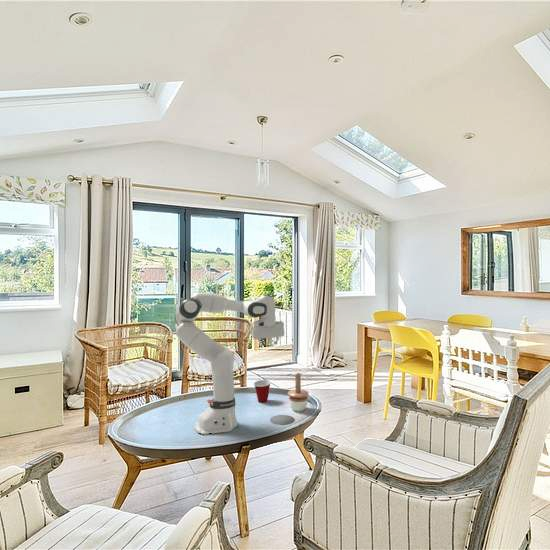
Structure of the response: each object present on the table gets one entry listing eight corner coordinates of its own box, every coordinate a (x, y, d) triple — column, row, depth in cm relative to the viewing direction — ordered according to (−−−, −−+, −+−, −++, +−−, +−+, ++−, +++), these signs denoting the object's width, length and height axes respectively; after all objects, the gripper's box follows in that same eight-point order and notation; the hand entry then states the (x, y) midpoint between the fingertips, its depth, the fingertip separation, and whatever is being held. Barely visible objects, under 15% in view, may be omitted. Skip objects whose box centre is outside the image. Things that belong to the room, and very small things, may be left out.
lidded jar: (307, 406, 221) (307, 391, 221) (307, 413, 211) (307, 397, 210) (289, 406, 222) (289, 390, 222) (288, 413, 212) (288, 397, 212)
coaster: (276, 427, 193) (276, 426, 193) (265, 418, 205) (265, 417, 205) (299, 422, 199) (299, 421, 199) (287, 413, 211) (287, 413, 211)
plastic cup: (250, 401, 233) (250, 381, 232) (264, 397, 239) (264, 378, 239) (260, 405, 224) (260, 386, 224) (274, 401, 231) (274, 382, 230)
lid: (293, 398, 208) (293, 377, 208) (284, 392, 219) (284, 371, 219) (312, 395, 213) (312, 374, 213) (302, 389, 224) (301, 369, 224)
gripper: (281, 320, 228) (281, 342, 229) (250, 322, 220) (250, 345, 220) (286, 321, 223) (286, 344, 223) (254, 323, 214) (255, 347, 214)
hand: (268, 345), depth 221 cm, fingers open, 8 cm apart
